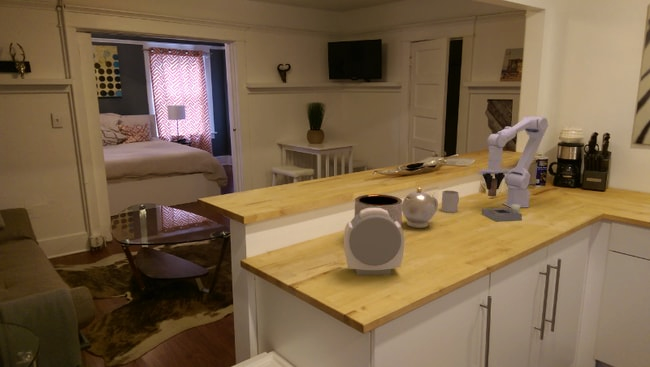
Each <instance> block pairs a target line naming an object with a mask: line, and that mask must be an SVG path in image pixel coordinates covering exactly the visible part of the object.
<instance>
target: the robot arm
mask: <svg viewBox="0 0 650 367" xmlns="http://www.w3.org/2000/svg"><path fill="white" fill-rule="evenodd" d="M548 123H549V122H548V119H547V117H545V116H531V115H525V116H524V117H522V119H521V120H520V121H519V122H517V123H516V124H514V125H513V126H505V127H504V128H503V129H502V130H500V131H497V132H496V133H491V134H490V135H489V136H488V137H487V140H486V143H487V149H488V159H487V160H488V162H487V168H484V169H478V175H479V176H480V175H481V176H482V178H483V179H484V182H485V186H486V190H490V189H491V181H492V178H496V179H498V180H497V190H499V189H500V186H501V183H502V181H503V180H504V184H505V185H506V187H507V197H506V202H502V204H503V205H505V207H506V206H507V207H508V208H511V206H512V204H518V205H520V208H529V207H530V205H529V203H530V190H529V188H528V186H529V184H530V178H531V176H532V175H531V174H530V173H529V169H530V166H531V164H532V162H533V159H534V158H535V156H536V153H537V151H538V149H539V147H540V145H541V142H542V140H543V137H544V136H545V134H546V131H547V129H548V126H549V124H548ZM522 131H525V133H526V135H527V136H528V137H529V138H528V140H527V142H526V144H525V147H524V148H523V151H522V153H521V155H520V158H519V159H518V161H517V163H516V164H517V165H516V166H515V167H513V168H511V169H509V168H502V161H503V160H502V159H503V149H504V147H505V146H506V145H507V143H508V142H509V141H511V140H512V139H514V138H515V137H516V136H517V134H518V133H520V132H522ZM493 175H494V176H493Z"/></svg>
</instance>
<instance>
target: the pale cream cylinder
mask: <svg viewBox="0 0 650 367" xmlns="http://www.w3.org/2000/svg"><path fill="white" fill-rule="evenodd" d="M520 208H521V207H520V205H518V204H512V206H511V207H510V209H511V210H513V211H515V212H518V213H520V211H521V209H520ZM520 214H521V213H520Z"/></svg>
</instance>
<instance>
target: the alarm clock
mask: <svg viewBox="0 0 650 367" xmlns="http://www.w3.org/2000/svg"><path fill="white" fill-rule="evenodd" d="M354 216H355V215H354ZM354 216H353V218H352V220H350V221H347V223H346V224H345V228H344V231H343V232H344V233H343V244H344V246H343V247H344V254H345V258H346V260H345V261H346V265H347V269H353V270H355V272H356V276H362V275H363V276H366V275H367V276H370V275H373V276H374V275H376V276H377V275H378V276H379V275H392V269H398V268H401V265H402V262H403V259H404V252H405V235H404V230H403V229H402V228H403V227H402V228H401V226H400V224H399V223H398V221H396V222H394V221H393V219H392V218H391V217H390V216H389V213H388V212H387V210H384V209H382V208H366V209H364V210H361V211H360V213H359V214H357V215H356V216H355V217H354Z"/></svg>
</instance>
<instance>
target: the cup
mask: <svg viewBox="0 0 650 367" xmlns="http://www.w3.org/2000/svg"><path fill="white" fill-rule="evenodd" d="M441 192H442V193H441V196H442V197H441V212H444V213H448V214H449V213H450V214H453V213H454V214H455V213H457V212H458V206H459V205H458V204H459V202H460V195H459V192H458V191H455V190H442V191H441Z"/></svg>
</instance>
